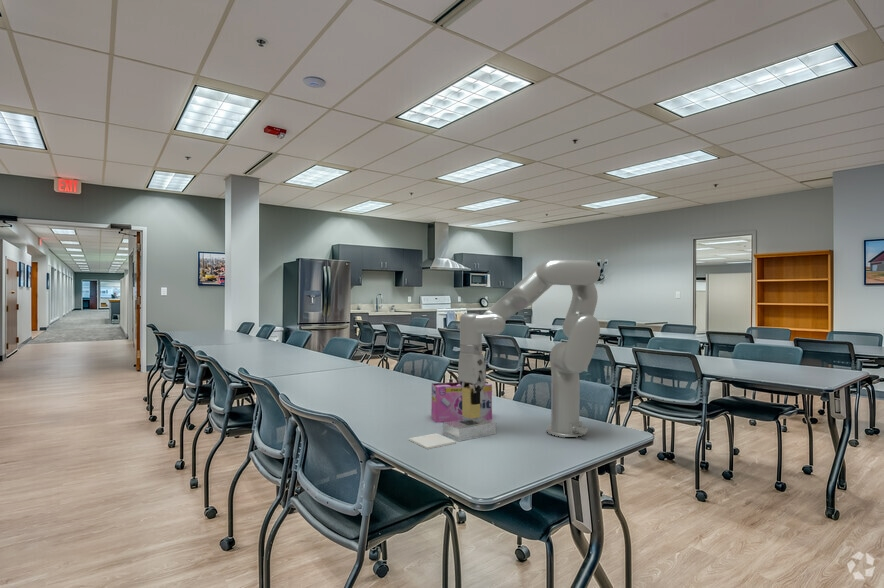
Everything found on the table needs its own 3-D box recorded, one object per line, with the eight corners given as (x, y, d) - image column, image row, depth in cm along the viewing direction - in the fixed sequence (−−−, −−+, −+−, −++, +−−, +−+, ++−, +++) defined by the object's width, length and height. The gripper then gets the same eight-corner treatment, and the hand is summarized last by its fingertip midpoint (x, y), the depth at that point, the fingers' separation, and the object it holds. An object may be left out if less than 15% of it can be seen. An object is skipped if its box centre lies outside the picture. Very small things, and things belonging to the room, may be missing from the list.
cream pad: (455, 443, 148) (455, 441, 148) (427, 449, 142) (427, 447, 142) (436, 434, 157) (436, 433, 157) (408, 440, 151) (408, 438, 151)
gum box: (488, 414, 187) (488, 381, 187) (495, 419, 179) (495, 384, 179) (430, 417, 181) (431, 382, 181) (435, 423, 173) (436, 386, 173)
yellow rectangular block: (480, 416, 158) (480, 387, 158) (470, 418, 156) (470, 389, 156) (472, 414, 162) (472, 385, 162) (462, 416, 159) (462, 387, 159)
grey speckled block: (495, 433, 159) (496, 422, 159) (459, 441, 150) (459, 429, 150) (479, 427, 167) (479, 416, 167) (442, 434, 158) (443, 422, 158)
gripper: (495, 350, 154) (496, 405, 154) (464, 346, 168) (464, 397, 168) (478, 352, 150) (478, 409, 150) (447, 348, 164) (448, 400, 163)
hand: (471, 402), depth 159 cm, fingers closed on yellow rectangular block, 4 cm apart
